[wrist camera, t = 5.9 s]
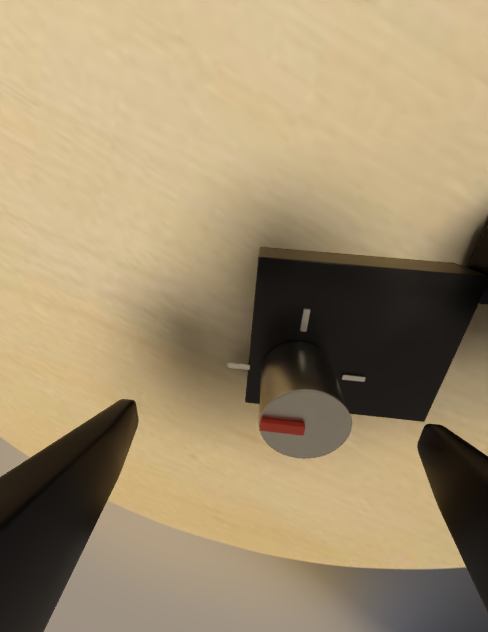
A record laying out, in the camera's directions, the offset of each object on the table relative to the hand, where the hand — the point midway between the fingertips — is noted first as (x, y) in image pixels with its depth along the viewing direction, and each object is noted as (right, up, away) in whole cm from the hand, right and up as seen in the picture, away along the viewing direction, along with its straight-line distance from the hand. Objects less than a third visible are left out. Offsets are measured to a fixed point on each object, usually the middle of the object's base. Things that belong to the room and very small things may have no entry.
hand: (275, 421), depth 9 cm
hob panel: (+6, +3, +10) cm, 12 cm away
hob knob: (+2, 0, +9) cm, 9 cm away
